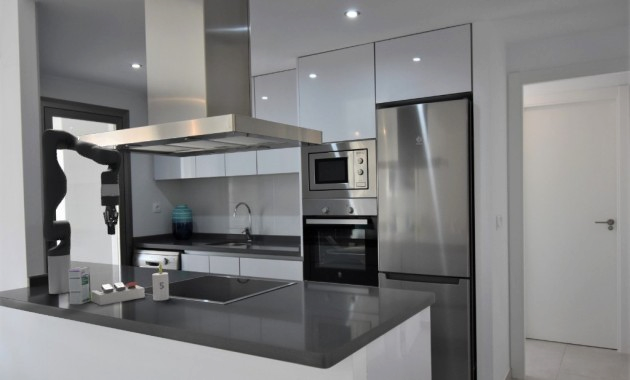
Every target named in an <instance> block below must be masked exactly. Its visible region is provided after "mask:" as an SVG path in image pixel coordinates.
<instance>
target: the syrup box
mask: <svg viewBox="0 0 630 380" xmlns="http://www.w3.org/2000/svg"><path fill="white" fill-rule="evenodd" d="M68 271H69V290H70V292H69V303H70V305H83V304H87V303H89V302H92V301H91V291H92V290H91V273H90V272H91V271H90V266H89V267H88V266H78V267H75V268H71V269H69V270H68Z"/></svg>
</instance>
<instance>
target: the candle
mask: <svg viewBox="0 0 630 380" xmlns="http://www.w3.org/2000/svg"><path fill="white" fill-rule="evenodd" d="M162 266H163V265H162V264H161V262H159V265H158V268H159V269H158V272H156V273H152V275H151V276H152V289H153V292H152V299H153V301H166V300H169V299H170V289H169V287H170V286H169V284H170V283H169V272H163V267H162Z"/></svg>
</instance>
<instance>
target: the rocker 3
mask: <svg viewBox="0 0 630 380" xmlns="http://www.w3.org/2000/svg"><path fill="white" fill-rule="evenodd" d="M136 285H137V286H139V285H138V281H133V282H128V283H126V284H125V286H126V288H127V287H132V286H136Z"/></svg>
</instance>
